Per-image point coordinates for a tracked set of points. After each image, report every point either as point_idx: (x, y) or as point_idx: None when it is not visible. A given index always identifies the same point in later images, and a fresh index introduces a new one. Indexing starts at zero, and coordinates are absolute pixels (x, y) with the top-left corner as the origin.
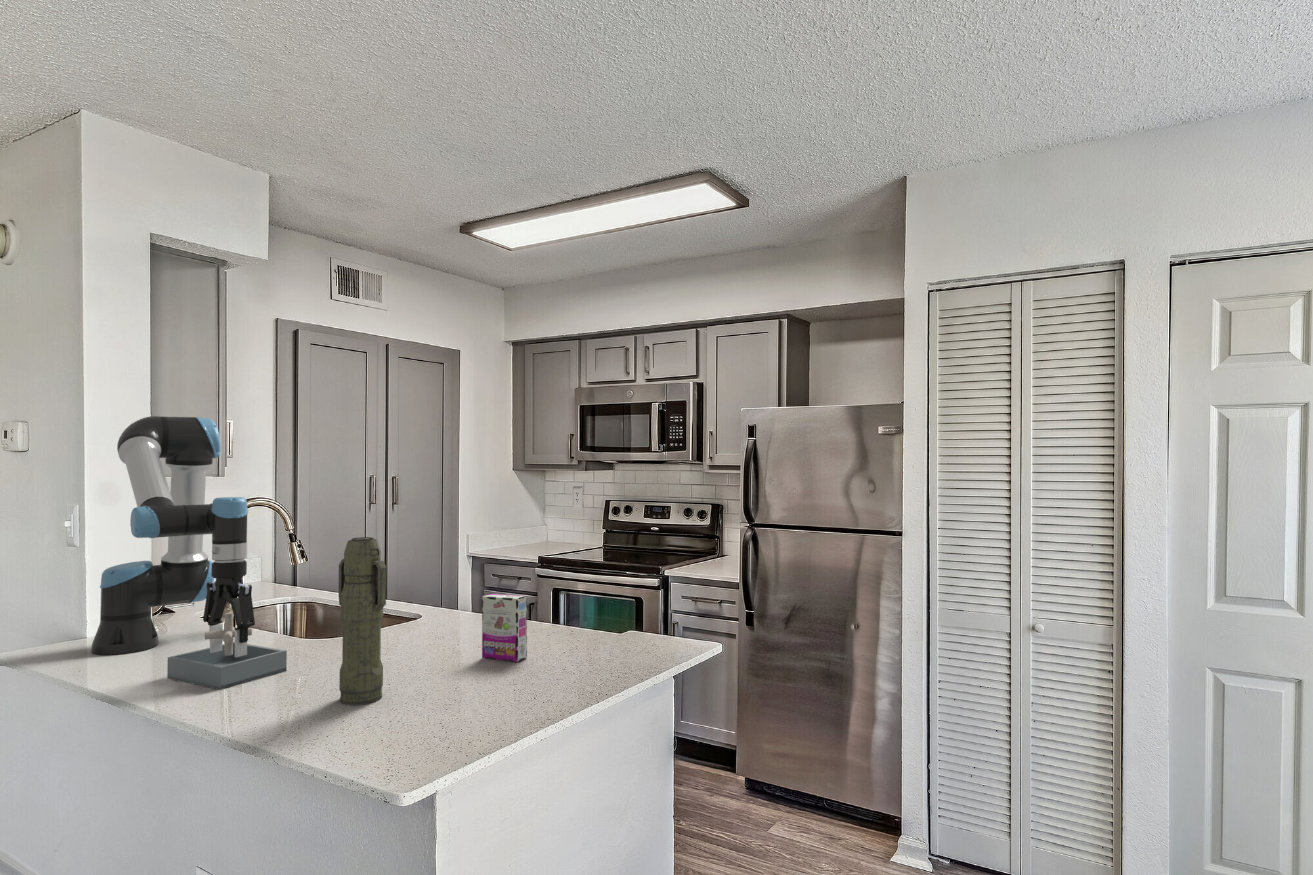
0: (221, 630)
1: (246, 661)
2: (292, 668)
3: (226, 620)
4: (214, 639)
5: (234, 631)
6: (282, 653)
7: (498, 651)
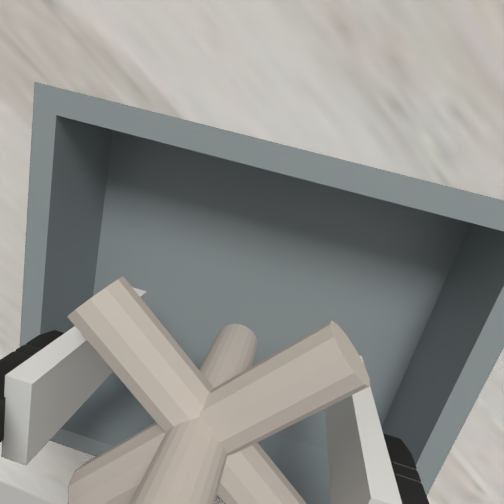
0: (71, 361)
1: (444, 455)
2: (500, 150)
3: None
4: (99, 373)
5: (248, 443)
6: None
7: None
